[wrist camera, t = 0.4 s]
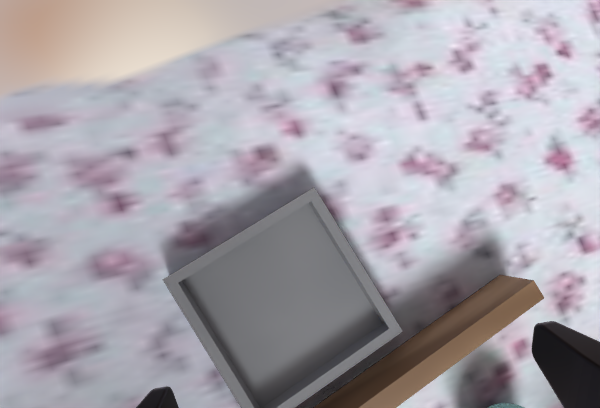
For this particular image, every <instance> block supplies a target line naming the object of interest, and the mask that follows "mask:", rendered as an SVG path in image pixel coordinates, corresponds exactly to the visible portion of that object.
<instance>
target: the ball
mask: <svg viewBox="0 0 600 408" xmlns="http://www.w3.org/2000/svg"><path fill="white" fill-rule="evenodd" d="M487 408H524V407H522V406H519V405H515V404H510V403H499V404H494V405H491V406H489V407H487Z"/></svg>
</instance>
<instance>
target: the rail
mask: <svg viewBox="0 0 600 408" xmlns="http://www.w3.org/2000/svg"><path fill="white" fill-rule="evenodd" d="M542 299H544V297H543V295H542V293H541V292H540V290H539V288H538V287H537V285H536V283H535V282H534V280H528V279H522V278H516V277H510V276H504V275H499V276H498V277H496V278H495V279H494V280H492V281H491V282H489V283H488V284H487V285H485V286H484V287H482V288H481V289H480V290H478V291H477V292H475V293H474V294H472V295H471V296H470V297H468V298H467V299H465V300H464V301H463V302H461V303H460V304H458V305H457V306H456V307H454V308H453V309H451V310H450V311H449V312H447V313H446V314H444V315H443V316H442V317H440V318H439V319H437V320H436V321H435V322H433V323H432V324H430V325H429V326H427V327H426V328H425V329H423V330H422V331H420V332H419V333H418V334H416V335H415V336H413V337H412V338H411V339H409V340H408V341H406V342H405V343H404V344H402V345H401V346H399V347H398V348H397V349H395V350H394V351H392V352H391V353H390V354H388V355H387V356H385V357H384V358H382V359H381V360H380V361H378V362H377V363H375V364H374V365H373V366H371V367H370V368H368V369H367V370H366V371H364V372H363V373H361V374H360V375H359V376H357V377H356V378H354V379H353V380H352V381H350V382H349V383H347V384H346V385H345V386H343V387H342V388H340V389H339V390H338V391H336V392H335V393H333V394H332V395H330V396H329V397H328V398H326V399H325V400H323V401H322V402H321V403H319V404H318V405H316V406H315V407H314V408H396V407H398V406H399V405H400V404H402V403H403V402H404V401H406V400H407V399H408V398H410V397H411V396H412V395H414V394H415V393H416V392H418V391H419V390H421V389H422V388H423V387H425V386H426V385H427V384H429V383H430V382H431V381H433V380H434V379H435V378H437V377H438V376H439V375H441V374H442V373H444V372H445V371H446V370H448V369H449V368H450V367H452V366H453V365H454V364H456V363H457V362H458V361H460V360H461V359H462V358H464V357H465V356H467V355H468V354H469V353H471V352H472V351H473V350H475V349H476V348H477V347H479V346H480V345H481V344H483V343H484V342H485V341H487V340H488V339H490V338H491V337H492V336H494V335H495V334H496V333H498V332H499V331H500V330H502V329H503V328H504V327H506V326H507V325H508V324H510V323H511V322H512V321H514V320H515V319H517V318H518V317H519V316H521V315H522V314H523V313H525V312H526V311H527V310H529V309H530V308H531V307H533V306H534V305H535V304H537V303H538V302H540V301H541V300H542Z"/></svg>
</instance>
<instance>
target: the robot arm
mask: <svg viewBox="0 0 600 408" xmlns="http://www.w3.org/2000/svg"><path fill="white" fill-rule="evenodd" d="M532 354H533V357H534V359H535V361H536V362H537V364H538V366H539V367H540V369H541V371H542V372H543V374H544V376H545V377H546V379H547V381H548V382H549V384H550V386H551V387H552V389H553V390H554V392H555V394H556V395H557V397H558V399H559V400H560V402H561V404H562V405H563V407H564V408H600V342H599V341H597V340H594V339H592V338H590V337H588V336H586V335H583V334H581V333H579V332H577V331H575V330H572V329H570V328H568V327H566V326H564V325H561V324H559V323H557V322H554V321H549V322H543V323H538V324H536V325H535V327H534V334H533V342H532ZM136 408H179V407H178V405H177V402H176V399H175V396H174V394H173V391H172V389H171V388H170V387H161V388H155V389H153V390H151V391H150V392H149V393H148V394H147V396H146V397H145V398H144V399H143V400H142V401H141V403H140V404H139V405H138V406H137V407H136Z"/></svg>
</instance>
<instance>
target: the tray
mask: <svg viewBox="0 0 600 408" xmlns="http://www.w3.org/2000/svg"><path fill="white" fill-rule="evenodd" d="M163 281H164V283H165V284H166V286H167V288H168V289H169V291H170V293H171V294H172V296H173V297H174V299H175V301H176V302H177V304H178V306H179V307H180V309H181V311H182V312H183V314H184V315H185V317H186V319H187V320H188V322H189V324H190V325H191V327H192V329H193V330H194V332H195V333H196V335H197V337H198V338H199V340H200V342H201V343H202V345H203V346H204V348H205V350H206V351H207V353H208V355H209V356H210V358H211V360H212V361H213V363H214V364H215V366H216V368H217V369H218V371H219V373H220V374H221V376H222V378H223V379H224V381H225V382H226V384H227V386H228V387H229V389H230V391H231V392H232V394H233V395H234V397H235V399H236V400H237V402H238V404H239V405H240V407H241V408H295V407H297V406H298V405H299V404H301V403H302V402H304V401H305V400H307V399H308V398H309V397H311V396H312V395H314V394H315V393H316V392H318V391H319V390H321V389H322V388H324V387H325V386H326V385H328V384H329V383H331V382H332V381H334V380H335V379H336V378H338V377H339V376H341V375H342V374H343V373H345V372H346V371H348V370H349V369H351V368H352V367H353V366H355V365H356V364H358V363H359V362H360V361H362V360H363V359H365V358H366V357H368V356H369V355H370V354H372V353H373V352H375V351H376V350H377V349H379V348H380V347H382V346H383V345H385V344H386V343H387V342H389V341H390V340H392V339H393V338H394V337H396V336H397V335H399V334H400V333H402V332H403V331H402V329H401V328H400V326H399V324H398V323H397V321H396V319H395V318H394V316H393V315H392V313H391V311H390V310H389V308H388V306H387V305H386V303H385V302H384V300H383V298H382V297H381V295H380V293H379V292H378V290H377V288H376V287H375V285H374V284H373V282H372V280H371V279H370V277H369V275H368V274H367V272H366V271H365V269H364V267H363V266H362V264H361V262H360V261H359V259H358V258H357V256H356V254H355V253H354V251H353V249H352V248H351V246H350V244H349V243H348V241H347V240H346V238H345V236H344V235H343V233H342V231H341V230H340V228H339V227H338V225H337V223H336V222H335V220H334V218H333V217H332V215H331V213H330V212H329V210H328V209H327V207H326V205H325V204H324V202H323V200H322V199H321V197H320V196H319V194H318V192H317V191H316V189H315V187H314V188H312V189H311V190H309V191H307V192H306V193H304V194H302V195H301V196H299V197H298V198H296V199H294V200H293V201H291V202H289V203H288V204H286V205H284V206H283V207H281V208H279V209H278V210H276V211H275V212H273V213H271V214H270V215H268V216H266V217H265V218H263V219H261V220H260V221H258V222H256V223H255V224H253V225H252V226H250V227H248V228H247V229H245V230H243V231H242V232H240V233H238V234H237V235H235V236H233V237H232V238H230V239H229V240H227V241H225V242H224V243H222V244H220V245H219V246H217V247H215V248H214V249H212V250H211V251H209V252H207V253H206V254H204V255H202V256H201V257H199V258H197V259H196V260H194V261H192V262H191V263H189V264H188V265H186V266H184V267H183V268H181V269H179V270H178V271H176V272H174V273H173V274H171V275H169V276H168V277H166V278H165V279H163Z"/></svg>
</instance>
